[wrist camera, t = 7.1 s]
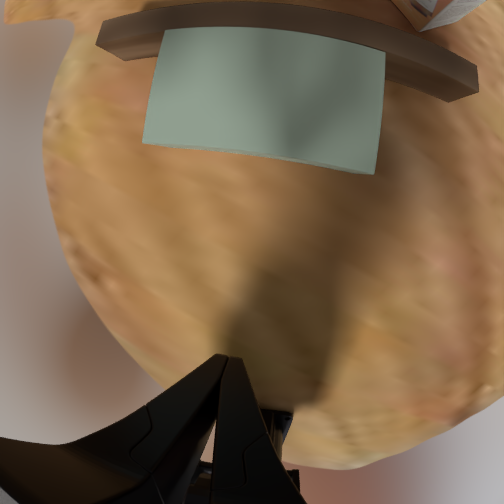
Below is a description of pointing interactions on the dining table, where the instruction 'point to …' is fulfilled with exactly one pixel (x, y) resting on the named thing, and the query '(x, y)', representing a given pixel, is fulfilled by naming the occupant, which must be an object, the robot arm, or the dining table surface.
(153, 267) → the dining table surface
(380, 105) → the sage block
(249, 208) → the dining table surface
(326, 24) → the walnut board
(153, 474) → the robot arm
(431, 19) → the small box
